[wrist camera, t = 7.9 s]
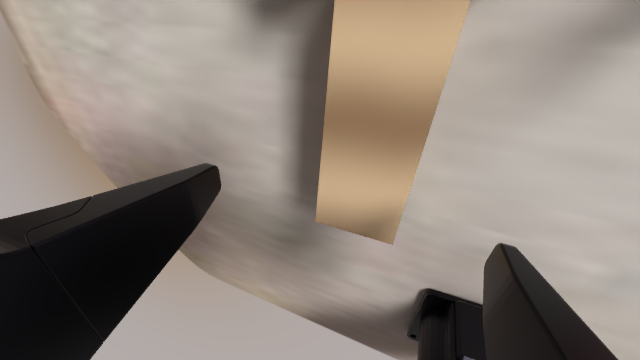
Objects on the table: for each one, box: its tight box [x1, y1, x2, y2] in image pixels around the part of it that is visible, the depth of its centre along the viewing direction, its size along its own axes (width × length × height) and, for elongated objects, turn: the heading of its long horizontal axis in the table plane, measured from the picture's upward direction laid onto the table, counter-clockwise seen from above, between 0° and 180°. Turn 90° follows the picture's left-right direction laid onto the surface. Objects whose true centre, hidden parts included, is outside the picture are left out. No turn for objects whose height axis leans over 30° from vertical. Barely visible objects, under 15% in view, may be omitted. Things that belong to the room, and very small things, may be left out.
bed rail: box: [315, 0, 471, 245], centre depth 12 cm, size 14×4×5 cm, turn 176°
